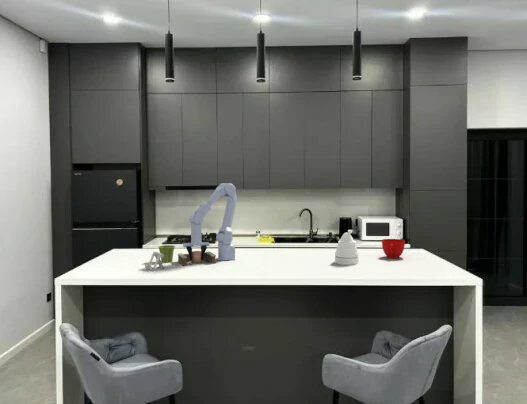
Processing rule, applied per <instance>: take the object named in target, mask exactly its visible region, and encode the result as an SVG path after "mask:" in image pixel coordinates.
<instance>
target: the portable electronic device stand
mask: <svg viewBox="0 0 527 404" xmlns="http://www.w3.org/2000/svg"><path fill="white" fill-rule="evenodd" d="M163 256H164V255H163V254H162V253H160V252H157V251H153V252H152V255H151V258H150V260H149V263H148V264H144V269H147V270H150V271H152V272H154V271H155V270H156V268H157V266H159V268H160V269H161V268H162V269H165V267H164V265H163V262H161V258H163ZM154 257H155V262H154V265H153V266H151V265H152V263H153V259H154Z"/></svg>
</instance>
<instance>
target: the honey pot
mask: <svg viewBox="0 0 527 404" xmlns="http://www.w3.org/2000/svg"><path fill="white" fill-rule="evenodd" d="M352 233H353V229H348V230H347V232H344V233H343V234H342V236H341V237H340V239H339V240H338V241H337V242H338V245H337V246H336V249H335V252H334V263H335V264H339V265H347V266H350V265H351V266H352V265H357V264H359V252H358V247H357V246H356V244H357V241H356V240H354V238H353V236H352V235H351V234H352Z"/></svg>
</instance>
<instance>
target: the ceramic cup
mask: <svg viewBox="0 0 527 404" xmlns="http://www.w3.org/2000/svg"><path fill="white" fill-rule="evenodd" d="M405 241H406V240H404V239H401V238H400V239H398V238H384V239H381V246H382V248H381V249H382V251H383V253H384V254H385V256H386V257H387V258H390V259H398V258H400V257H401V256H402V255H403V252H404V251H405V243H406V242H405Z"/></svg>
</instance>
